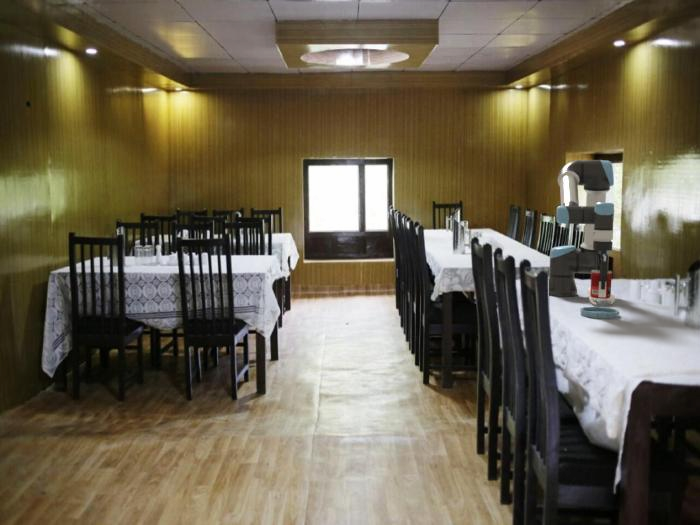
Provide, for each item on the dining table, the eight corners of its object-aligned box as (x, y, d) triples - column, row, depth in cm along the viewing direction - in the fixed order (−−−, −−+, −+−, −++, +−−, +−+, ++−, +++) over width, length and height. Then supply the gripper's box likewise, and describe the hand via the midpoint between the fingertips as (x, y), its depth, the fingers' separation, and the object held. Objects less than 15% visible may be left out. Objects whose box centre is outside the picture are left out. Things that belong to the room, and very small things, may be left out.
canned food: (611, 299, 314) (613, 272, 312) (591, 298, 315) (592, 271, 314) (609, 296, 321) (610, 269, 320) (589, 295, 323) (590, 269, 321)
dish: (578, 311, 328) (578, 306, 328) (615, 312, 325) (615, 307, 325) (583, 318, 313) (583, 312, 313) (621, 319, 311) (621, 314, 310)
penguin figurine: (588, 283, 349) (615, 286, 347) (585, 302, 350) (612, 305, 348) (590, 285, 342) (618, 288, 341) (587, 304, 344) (615, 307, 342)
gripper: (589, 238, 326) (587, 291, 329) (597, 242, 306) (594, 299, 309) (608, 238, 325) (605, 292, 328) (617, 242, 305) (614, 299, 307)
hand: (600, 295), depth 318 cm, fingers closed on canned food, 8 cm apart
